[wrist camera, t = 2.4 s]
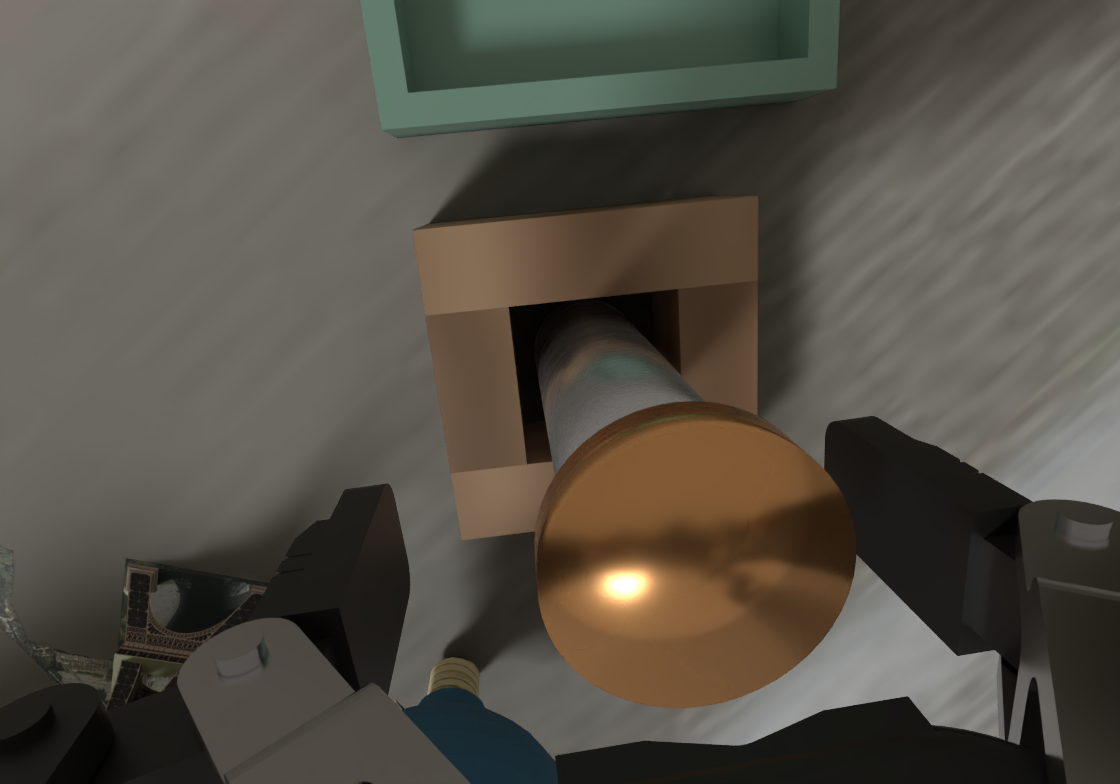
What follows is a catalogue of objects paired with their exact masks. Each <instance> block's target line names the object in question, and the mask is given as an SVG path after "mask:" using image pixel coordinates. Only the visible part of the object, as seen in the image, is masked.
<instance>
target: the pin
mask: <svg viewBox="0 0 1120 784" xmlns="http://www.w3.org/2000/svg"><path fill="white" fill-rule="evenodd" d="M534 357H535V363H536V368H537V374H538V380H539V386H540V392H541V398H542V403H543V409H544V415H545V421H546V427H547V433H548V438H549V444H550V450H551V456H552V462H553V468H554V473H555V477H554V478H553V480H552V482H551V483H550V485H549V487H548V489H547V491H546V493H545V496H544V498H543V501H542V503H541V506H540V509H539V513H538V517H537V521H536V528H535V538H534V548H535V565H536V577H537V590H538V600H539V605H540V610H541V615H542V619H543V621H544V624H545V627H546V629H547V632H548V634H549V636H550V638H551V640H552V641H553V643H554V645H555V647H556V649H557V650H558V651H559V653H560V654H561V655H562V656H563V658H564V659H565V660H566V662H567V663H568V664H569V665H570V666H571V667H572V668H573V669H574V670H575V671H577V672H578V673H579V674H580V675H581V676H582V677H584V678H585V679H586V680H588V681H589V682H591V683H592V684H593V685H595V686H597V687H599V688H600V689H602V690H604V691H606V692H608V693H610V694H612V695H615V696H617V697H620V698H622V699H625V700H628V701H632V702H636V703H640V704H644V705H649V706H657V707H665V708H688V707H699V706H706V705H712V704H717V703H722V702H725V701H729V700H732V699H735V698H738V697H742V696H744V695H746V694H749V693H751V692H754V691H756V690H758V689H760V688H762V687H764V686H766V685H768V684H770V683H771V682H773V681H775V680H777V679H778V678H780V677H781V676H783V675H784V674H786V673H787V672H788V671H790V670H791V669H793V668H794V667H795V666H796V665H797V664H799V663H800V662H801V661H802V660H803V659H805V658H806V657H807V656H808V655H809V654H810V653H811V652H812V651H813V650H814V649H815V647H816V646H817V645H818V644H819V643H820V642H821V641H822V640H823V638H824V637H825V636H826V634H827V633H828V632H829V630H830V629H831V628H832V626H833V624H834V623H835V621H836V619H837V617H838V616H839V614H840V612H841V611H842V608H843V606H844V604H845V601H846V599H847V596H848V594H849V591H850V587H851V584H852V580H853V577H854V570H855V563H856V537H855V531H854V525H853V520H852V517H851V514H850V511H849V508H848V505H847V503H846V501H845V499H844V497H843V495H842V493H841V491H840V489H839V488H838V486H837V485H836V484H835V482H834V481H833V479H832V478H831V477H830V475H829V474H828V473H827V472H826V471H825V470H824V469H823V468H822V467H821V466H820V465H819V464H818V463H817V462H816V461H815V460H814V459H813V458H812V457H810V456H809V455H808V454H807V453H806V452H805V451H804V450H802V449H801V448H800V447H799V446H798V445H797V444H796V443H794V442H793V441H792V440H791V439H790V438H789V437H787V436H786V435H785V434H784V433H783V432H782V431H780V430H779V429H778V428H776V427H775V426H773V425H772V424H771V423H769V422H768V421H766V420H764V419H762V418H760V417H758V416H757V415H755V414H753V413H751V412H748V411H745V410H742V409H739V408H737V407H734V406H729V405H724V404H719V403H715V402H706V401H705V400H704V399H703V398H702V397H701V396H700V395H699V394H698V393H697V392H696V390H695V389H694V388H693V387H692V386H691V385H690V384H689V383H688V382H687V381H686V380H685V379H684V378H683V377H682V376H681V375H680V374H679V373H678V372H677V371H676V370H675V368H674V367H673V366H672V365H671V364H670V363H669V362H668V361H667V360H666V359H665V358H664V357H663V356H662V355H661V354H660V353H659V352H658V351H657V350H656V349H655V347H654V346H653V345H652V344H651V343H650V342H649V341H648V340H647V339H646V338H645V337H644V336H643V335H642V334H641V333H640V332H639V331H638V330H637V329H636V328H635V326H634V325H633V324H632V323H631V322H630V321H629V320H628V319H627V318H626V317H625V316H624V315H623V314H622V313H621V312H620V311H619V310H618V309H616V308H615V307H613V306H612V305H610V304H608V303H606V302H603V301H600V300H595V299H578V300H573V301H570V302H567V303H565V304H563V305H561V306H559V307H558V308H556V309H555V310H553V311H552V312H551V313H550V314H549V315H548V316H547V317H546V318H545V320H544V321H543V322H542V324H541V326H540V328H539V330H538V332H537V335H536V339H535V344H534Z"/></svg>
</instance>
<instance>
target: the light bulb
mask: <svg viewBox="0 0 1120 784" xmlns="http://www.w3.org/2000/svg"><path fill="white" fill-rule="evenodd" d="M479 676H480V675H479V672H478V669H477V667H476V666H475V665H474V664H473V663H472V662H470V661H469V660H464V659H460V658H455V657H451V658H447V659H444V660H442V661H440V662H439V663H438V664H436V665H435V666H434V668H433V670H432V672H431V676H430V681H429V688H428V695H427V696H426V697H425V698H423V699H422V701H421V702H420V703H419V705H418V706H413V707H409V708H406V709H404V710H402V711H403V712H404V713H405V714H406V715H407V716H408V718H409V719H410V720H411V721H412V722H413V723H414V724H415V725H416V726H417V727H418V728H419V729H420V730H421V731H422V732H423V733H424V735H425V736H426V737H427V738H428V739H429V740H430V741H431V742H432V743H433V744H434V745H435V746H436V747H437V748H438V749H439V750H440V752H441V753H442V754H443V755H444V756H445V757H446V758H447V759H448V760H449V761H450V762H451V763H452V764H453V765H454V766H455V767H456V769H457V770H458V771H459V772H460V773H461V774H462V775H463V776H464V777H465V778H466V779H467V780H468V781H469V782H470V783H471V784H558V777H557V767H556V762H555V761H554V759H553V758H552V757H551V756H550V755H549V754H548V753H547V751H546V750H545V749H544V748H543V747H542V746H541V745H540V743H539V742H538V741H537V740H536V739H535V738H534V737H533V736H532V735H531V734H530V733H529V732H528V731H526V730H525V729H523V728H522V727H521V726H519V725H518V724H516V723H515V722H513V721H512V720H510V719H508V718H506V717H504V716H502V715H500V714H497V713H495V712H493V711H491V710H488V709H486V708H485V707H484V705H483V703H482V701H481V700H480V699H479V698H478V694H479Z"/></svg>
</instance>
